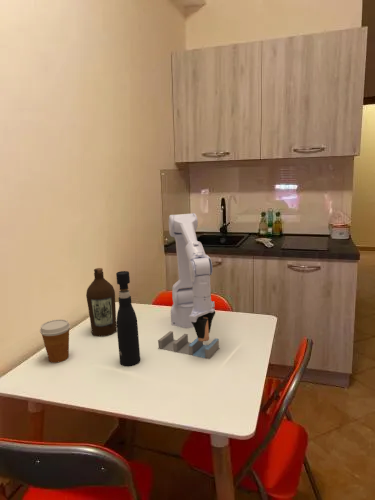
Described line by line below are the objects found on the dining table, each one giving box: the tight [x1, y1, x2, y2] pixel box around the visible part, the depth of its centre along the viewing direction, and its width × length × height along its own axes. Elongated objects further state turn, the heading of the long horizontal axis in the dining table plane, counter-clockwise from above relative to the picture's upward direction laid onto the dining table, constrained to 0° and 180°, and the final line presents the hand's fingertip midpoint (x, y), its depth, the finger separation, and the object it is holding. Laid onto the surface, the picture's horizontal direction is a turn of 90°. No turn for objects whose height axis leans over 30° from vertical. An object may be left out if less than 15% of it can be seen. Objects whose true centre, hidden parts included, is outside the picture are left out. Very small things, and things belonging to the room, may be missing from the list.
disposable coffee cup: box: [39, 319, 71, 364], centre depth 124 cm, size 10×10×12 cm
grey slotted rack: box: [157, 330, 220, 360], centre depth 125 cm, size 19×8×4 cm, turn 62°
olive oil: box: [86, 267, 117, 337], centre depth 143 cm, size 11×11×25 cm
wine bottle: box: [115, 270, 141, 367], centre depth 116 cm, size 6×6×30 cm
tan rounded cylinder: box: [198, 317, 210, 343], centre depth 121 cm, size 4×4×7 cm
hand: (203, 335), depth 121 cm, fingers closed on tan rounded cylinder, 4 cm apart
